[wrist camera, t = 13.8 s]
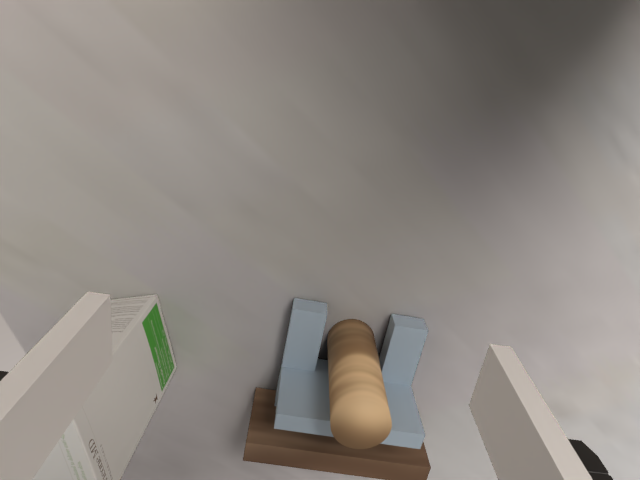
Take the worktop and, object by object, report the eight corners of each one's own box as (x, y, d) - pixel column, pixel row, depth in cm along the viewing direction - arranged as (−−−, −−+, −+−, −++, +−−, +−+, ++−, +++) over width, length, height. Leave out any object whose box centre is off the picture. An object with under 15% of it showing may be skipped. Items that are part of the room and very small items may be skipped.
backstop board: (255, 387, 46) (245, 442, 39) (414, 410, 47) (430, 467, 40) (253, 403, 46) (242, 460, 40) (409, 426, 47) (424, 484, 41)
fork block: (293, 297, 42) (289, 349, 34) (423, 318, 43) (446, 373, 35) (276, 391, 45) (268, 457, 38) (395, 409, 46) (410, 476, 39)
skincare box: (178, 367, 45) (112, 515, 30) (111, 374, 45) (13, 525, 30) (157, 289, 42) (72, 413, 27) (85, 297, 42) (-38, 424, 27)
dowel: (332, 315, 43) (337, 396, 32) (379, 323, 43) (398, 405, 33) (323, 355, 44) (324, 444, 34) (368, 362, 45) (383, 453, 34)
